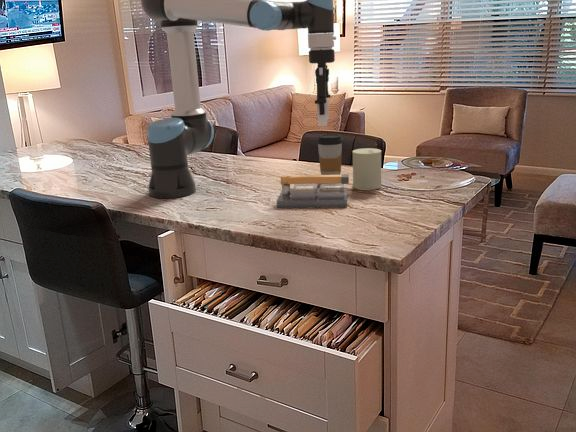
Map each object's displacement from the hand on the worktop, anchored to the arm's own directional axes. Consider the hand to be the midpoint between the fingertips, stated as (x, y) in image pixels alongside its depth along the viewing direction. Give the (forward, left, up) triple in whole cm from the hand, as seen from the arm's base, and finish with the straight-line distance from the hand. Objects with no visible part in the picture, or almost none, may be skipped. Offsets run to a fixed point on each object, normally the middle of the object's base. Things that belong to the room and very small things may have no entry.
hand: (323, 122), depth 179 cm
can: (+13, +6, -22) cm, 26 cm away
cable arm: (-3, -10, -16) cm, 19 cm away
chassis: (-3, -10, -22) cm, 24 cm away
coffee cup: (+1, +15, -22) cm, 26 cm away
